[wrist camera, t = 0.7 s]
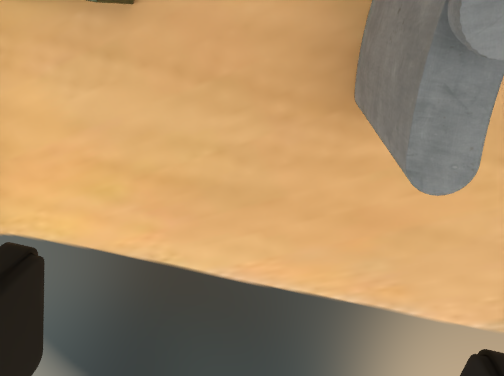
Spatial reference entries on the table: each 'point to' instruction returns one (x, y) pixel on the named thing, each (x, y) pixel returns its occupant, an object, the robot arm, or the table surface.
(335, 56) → the table surface
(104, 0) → the bin
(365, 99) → the hip flask
